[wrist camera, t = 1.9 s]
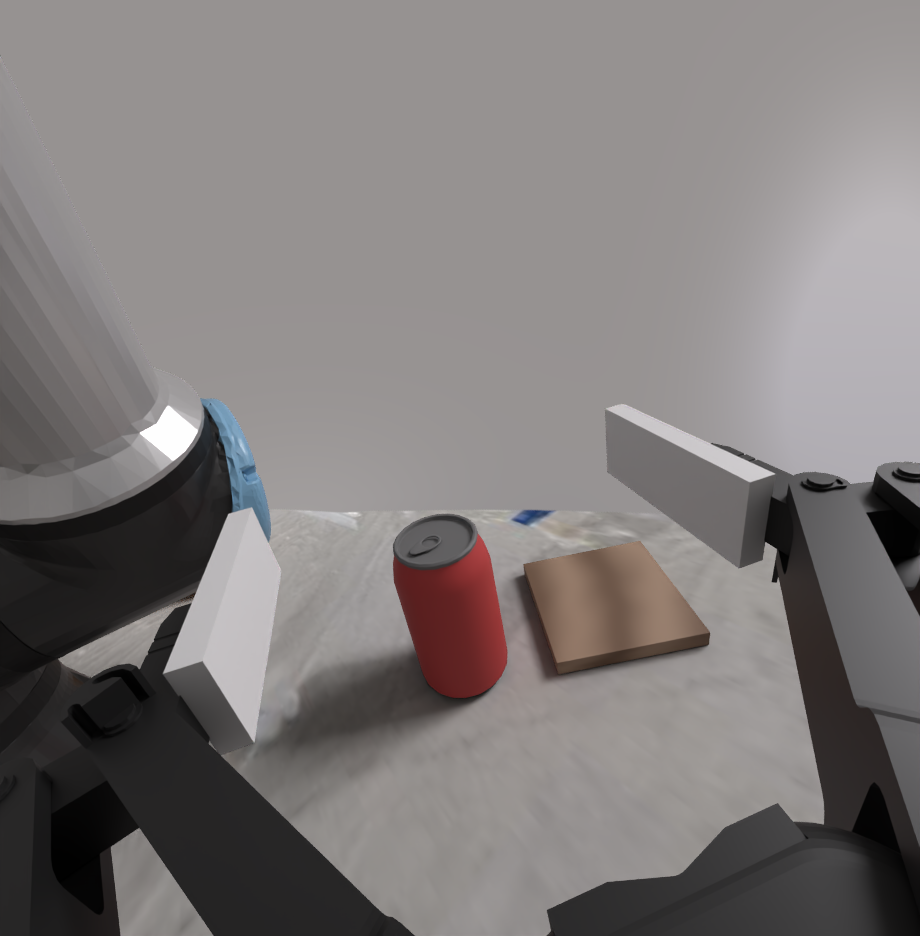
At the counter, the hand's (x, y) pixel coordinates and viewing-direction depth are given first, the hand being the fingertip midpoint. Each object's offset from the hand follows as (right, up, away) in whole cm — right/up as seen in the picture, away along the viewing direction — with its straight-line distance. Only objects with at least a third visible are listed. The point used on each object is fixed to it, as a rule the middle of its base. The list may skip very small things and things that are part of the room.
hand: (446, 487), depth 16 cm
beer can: (+1, -14, +18) cm, 23 cm away
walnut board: (+12, -11, +21) cm, 26 cm away
